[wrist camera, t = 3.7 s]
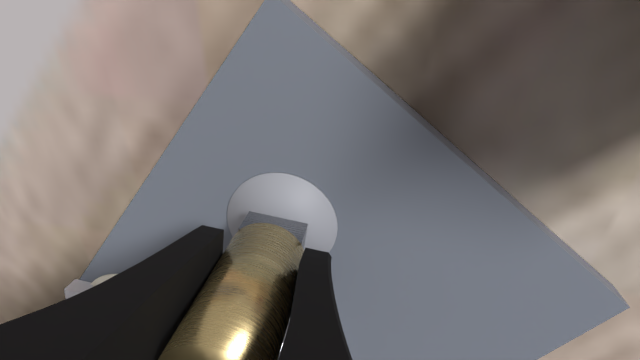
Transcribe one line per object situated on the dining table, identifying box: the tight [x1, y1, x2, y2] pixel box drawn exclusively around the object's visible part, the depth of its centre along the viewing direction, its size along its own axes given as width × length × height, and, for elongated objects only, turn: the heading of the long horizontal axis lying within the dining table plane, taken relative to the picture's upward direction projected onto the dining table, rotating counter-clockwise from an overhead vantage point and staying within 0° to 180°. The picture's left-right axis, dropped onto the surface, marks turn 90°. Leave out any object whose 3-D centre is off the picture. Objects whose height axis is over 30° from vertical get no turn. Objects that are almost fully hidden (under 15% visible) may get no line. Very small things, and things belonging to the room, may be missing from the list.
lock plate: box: [64, 0, 630, 360], centre depth 16 cm, size 14×20×2 cm
